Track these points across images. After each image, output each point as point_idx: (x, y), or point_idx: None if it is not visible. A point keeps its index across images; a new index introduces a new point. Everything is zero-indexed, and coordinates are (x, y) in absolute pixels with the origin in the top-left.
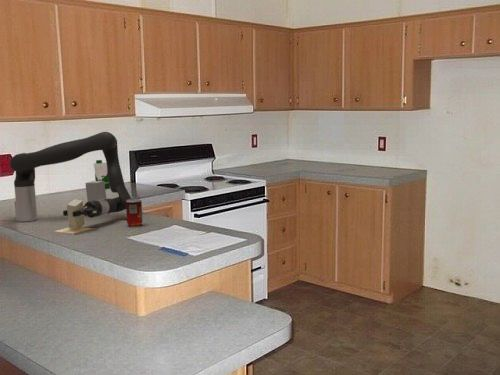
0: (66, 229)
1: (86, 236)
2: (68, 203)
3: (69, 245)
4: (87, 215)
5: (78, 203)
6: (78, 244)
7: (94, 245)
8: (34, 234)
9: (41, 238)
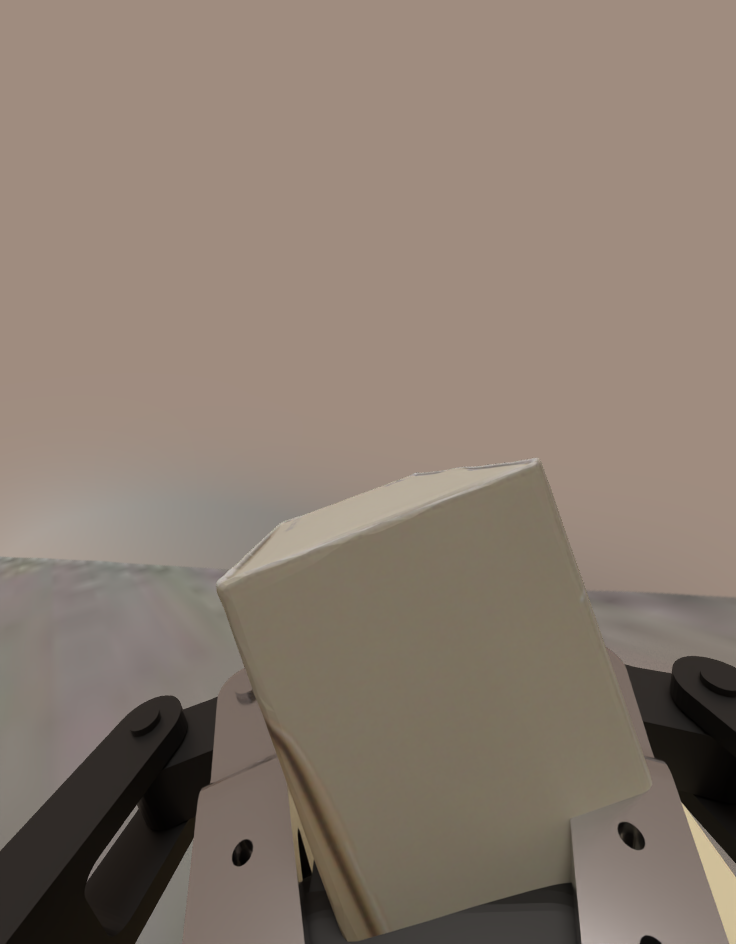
0: None
1: None
2: (432, 472)
3: (206, 586)
4: (139, 828)
5: (275, 538)
6: (164, 608)
7: (64, 628)
8: (634, 618)
9: None
